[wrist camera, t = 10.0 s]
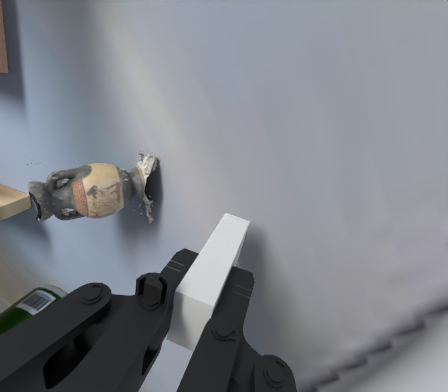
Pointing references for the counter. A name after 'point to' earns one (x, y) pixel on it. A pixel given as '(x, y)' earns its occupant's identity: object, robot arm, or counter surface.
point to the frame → (12, 202)
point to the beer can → (29, 306)
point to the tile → (2, 46)
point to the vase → (91, 190)
